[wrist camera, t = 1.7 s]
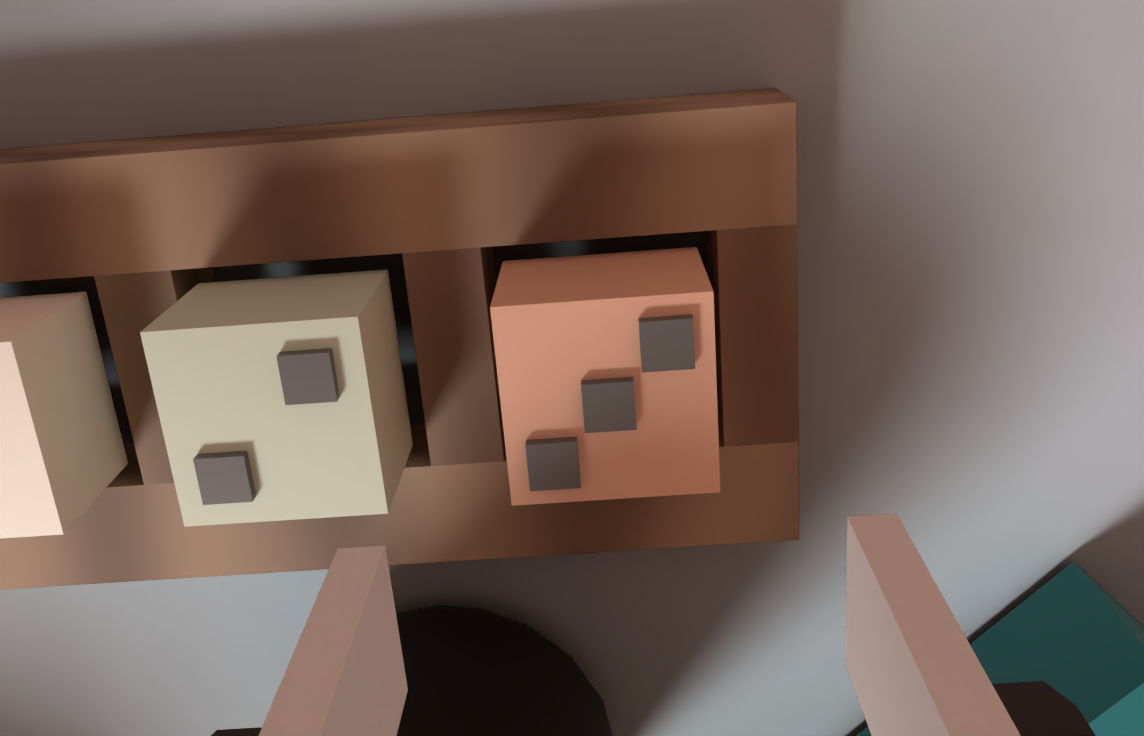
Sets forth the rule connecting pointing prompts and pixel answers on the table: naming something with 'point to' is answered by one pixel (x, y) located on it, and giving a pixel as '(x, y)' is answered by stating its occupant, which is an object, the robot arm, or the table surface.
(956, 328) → the table surface
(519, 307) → the die
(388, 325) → the die
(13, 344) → the die
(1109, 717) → the teal l-shaped bracket
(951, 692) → the robot arm
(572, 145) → the wooden dice tray
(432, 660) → the coffee jar
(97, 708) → the table surface
